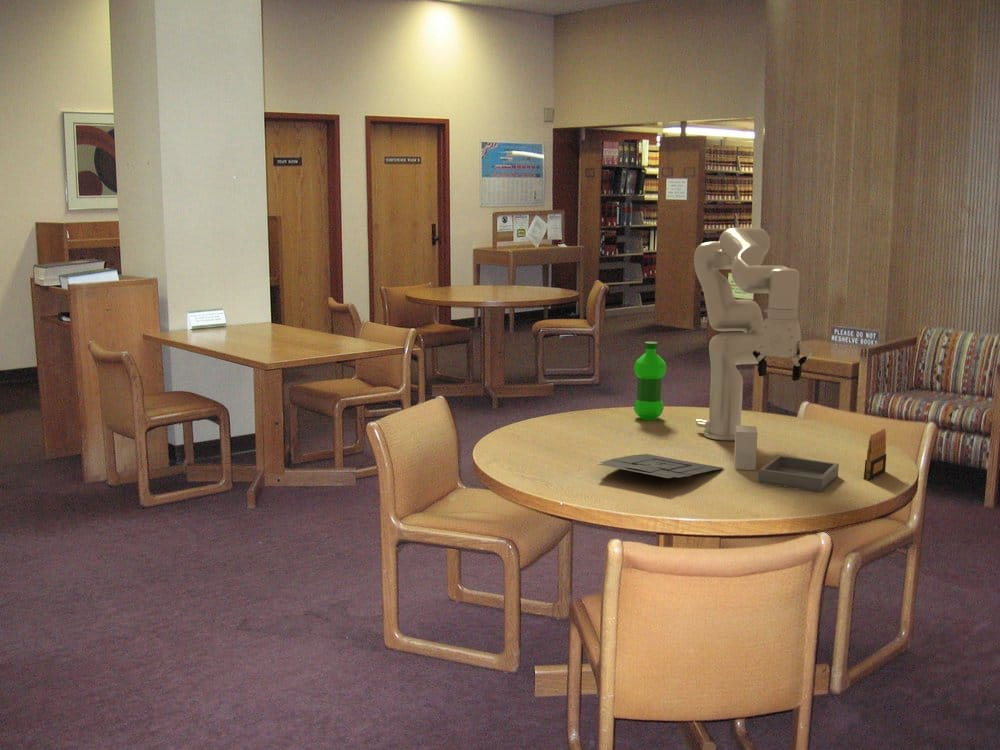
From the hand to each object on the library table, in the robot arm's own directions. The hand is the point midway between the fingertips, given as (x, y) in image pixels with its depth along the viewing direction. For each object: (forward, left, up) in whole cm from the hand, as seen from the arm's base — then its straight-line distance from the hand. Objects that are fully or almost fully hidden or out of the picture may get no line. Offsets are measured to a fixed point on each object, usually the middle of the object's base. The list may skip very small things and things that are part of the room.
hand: (778, 377), depth 280 cm
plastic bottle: (-51, +34, -24) cm, 66 cm away
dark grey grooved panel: (-23, -25, -25) cm, 42 cm away
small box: (-6, -6, -24) cm, 26 cm away
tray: (+10, -11, -24) cm, 28 cm away
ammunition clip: (+26, +4, -24) cm, 36 cm away
